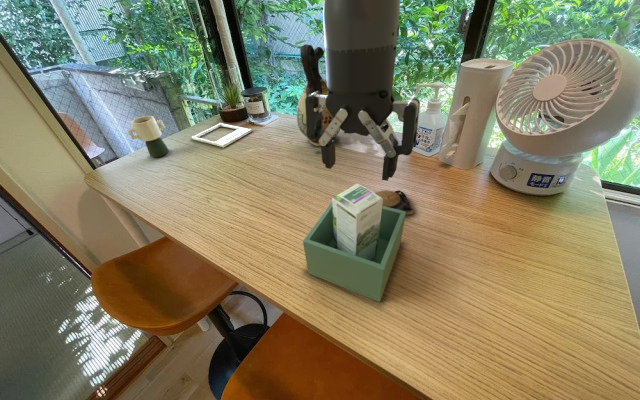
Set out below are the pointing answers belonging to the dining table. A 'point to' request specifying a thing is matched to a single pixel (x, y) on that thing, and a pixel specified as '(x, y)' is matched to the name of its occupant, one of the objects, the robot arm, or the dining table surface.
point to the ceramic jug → (312, 88)
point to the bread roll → (395, 200)
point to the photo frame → (228, 138)
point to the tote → (351, 268)
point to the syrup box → (357, 221)
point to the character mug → (149, 134)
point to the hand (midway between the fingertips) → (357, 171)
